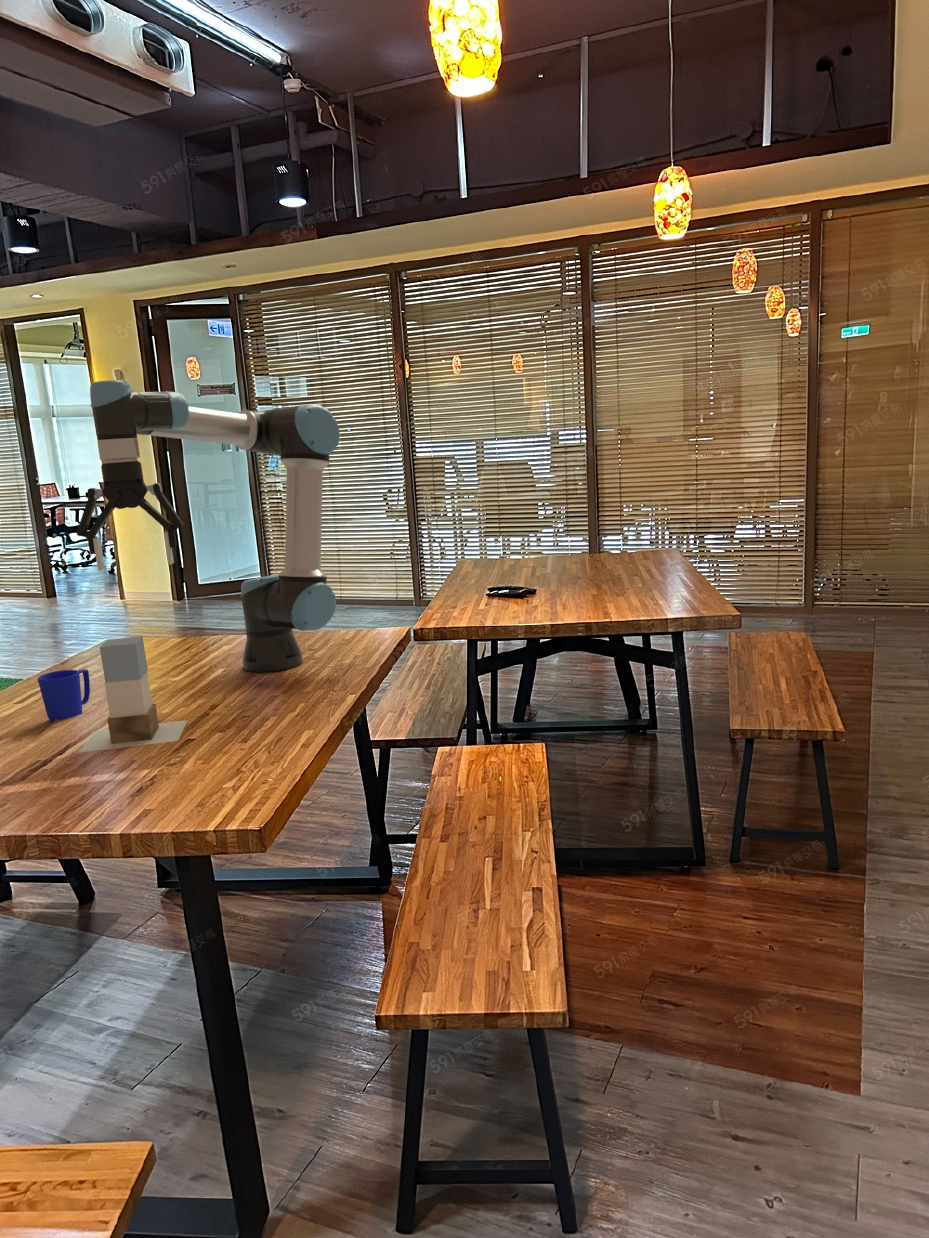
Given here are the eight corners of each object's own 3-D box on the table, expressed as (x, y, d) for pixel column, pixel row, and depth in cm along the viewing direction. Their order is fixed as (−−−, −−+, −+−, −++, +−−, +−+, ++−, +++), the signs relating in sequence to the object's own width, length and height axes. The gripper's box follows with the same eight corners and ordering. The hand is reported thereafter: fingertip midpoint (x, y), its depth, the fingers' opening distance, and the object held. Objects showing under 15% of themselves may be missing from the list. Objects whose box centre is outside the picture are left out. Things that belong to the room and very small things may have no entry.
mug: (107, 708, 192) (100, 665, 190) (66, 725, 181) (58, 680, 179) (78, 706, 195) (71, 664, 193) (36, 724, 183) (28, 679, 181)
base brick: (158, 727, 172) (155, 703, 171) (151, 739, 165) (148, 714, 164) (120, 731, 171) (116, 707, 170) (111, 744, 164) (107, 719, 163)
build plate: (188, 724, 176) (187, 720, 176) (178, 745, 163) (177, 740, 163) (96, 735, 173) (96, 730, 173) (79, 757, 160) (78, 752, 160)
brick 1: (147, 670, 169) (142, 636, 168) (140, 679, 163) (135, 643, 161) (113, 674, 168) (108, 639, 167) (105, 682, 162) (99, 647, 160)
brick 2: (152, 704, 170) (147, 670, 169) (145, 714, 164) (140, 679, 163) (118, 708, 170) (112, 674, 168) (110, 718, 163) (104, 683, 162)
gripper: (188, 456, 175) (201, 558, 180) (60, 465, 172) (77, 569, 176) (182, 456, 168) (196, 563, 173) (48, 466, 164) (66, 575, 169)
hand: (136, 567), depth 174 cm, fingers open, 13 cm apart
